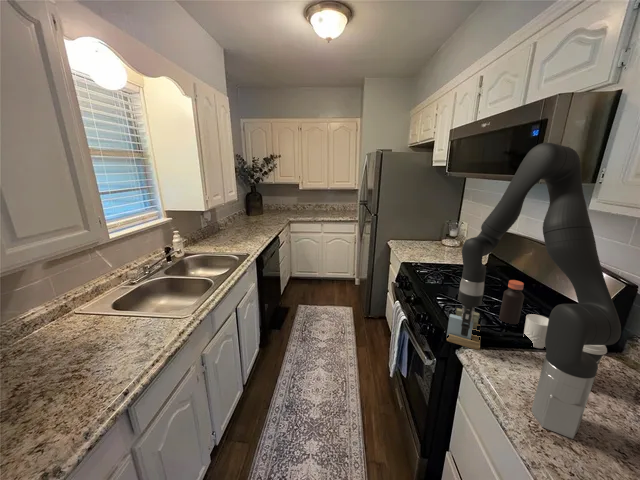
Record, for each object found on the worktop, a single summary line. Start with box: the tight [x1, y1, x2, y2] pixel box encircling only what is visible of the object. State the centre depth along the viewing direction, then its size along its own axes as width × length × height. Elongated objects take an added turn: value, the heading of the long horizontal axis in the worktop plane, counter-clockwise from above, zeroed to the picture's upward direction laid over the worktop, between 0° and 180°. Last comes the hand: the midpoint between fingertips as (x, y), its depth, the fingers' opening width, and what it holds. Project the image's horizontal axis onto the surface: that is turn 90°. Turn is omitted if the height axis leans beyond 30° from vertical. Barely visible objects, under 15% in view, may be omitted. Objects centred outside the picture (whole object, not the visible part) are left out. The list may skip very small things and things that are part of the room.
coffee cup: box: [583, 345, 608, 365], centre depth 80 cm, size 10×10×15 cm
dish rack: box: [446, 307, 481, 352], centre depth 103 cm, size 14×11×9 cm
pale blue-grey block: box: [446, 313, 474, 340], centre depth 100 cm, size 2×8×9 cm, turn 58°
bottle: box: [498, 279, 525, 325], centre depth 108 cm, size 7×7×20 cm
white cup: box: [523, 313, 549, 349], centre depth 98 cm, size 8×8×10 cm
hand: (464, 330), depth 99 cm, fingers open, 6 cm apart
